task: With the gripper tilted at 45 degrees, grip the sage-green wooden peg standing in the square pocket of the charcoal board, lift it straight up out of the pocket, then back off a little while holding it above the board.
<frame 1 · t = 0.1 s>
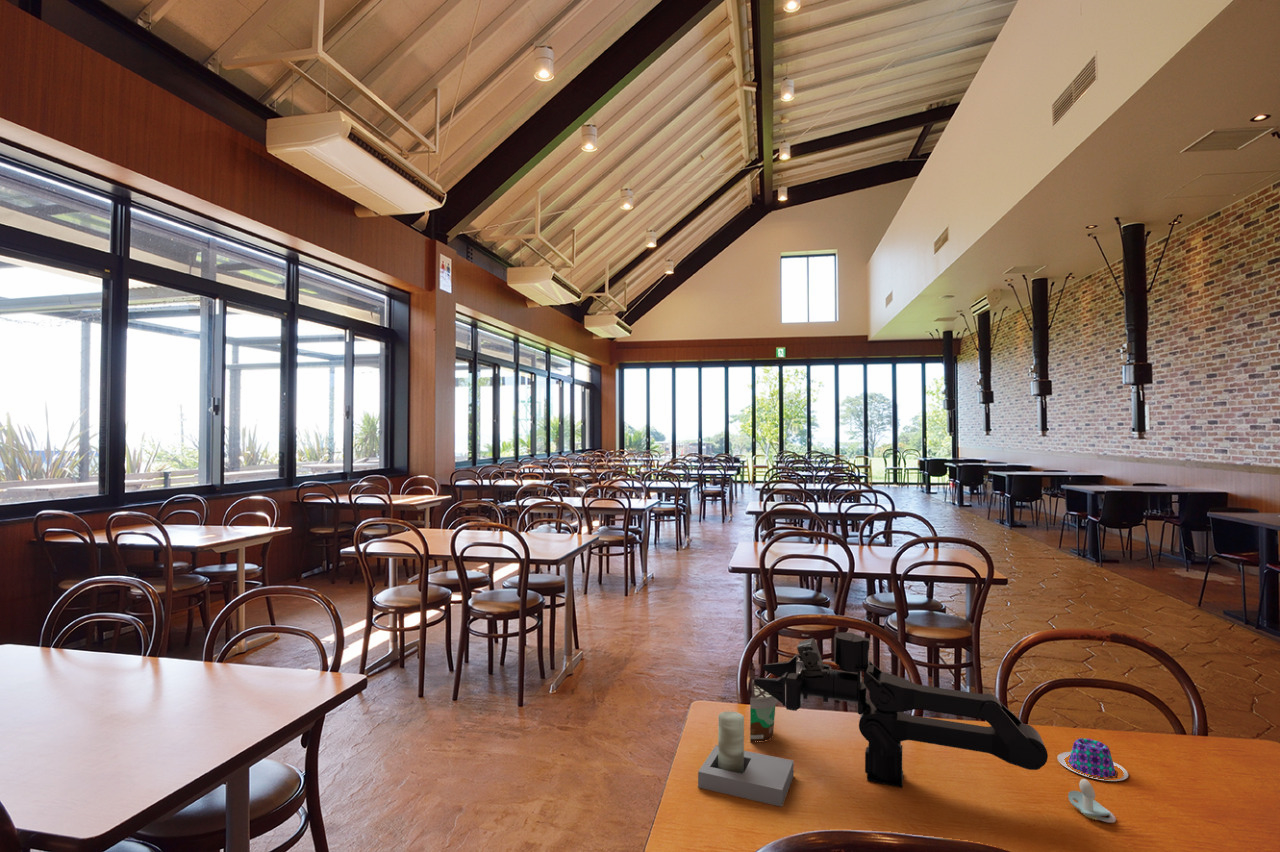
hand: (759, 673, 139), 17 cm above the table, tool horizontal, fingers open, 9 cm apart
pacifier: (1093, 815, 117), on the table
pocket board: (746, 781, 126), on the table
food container: (764, 735, 147), on the table
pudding: (1092, 770, 133), on the table
peg: (730, 778, 128), resting in pocket board
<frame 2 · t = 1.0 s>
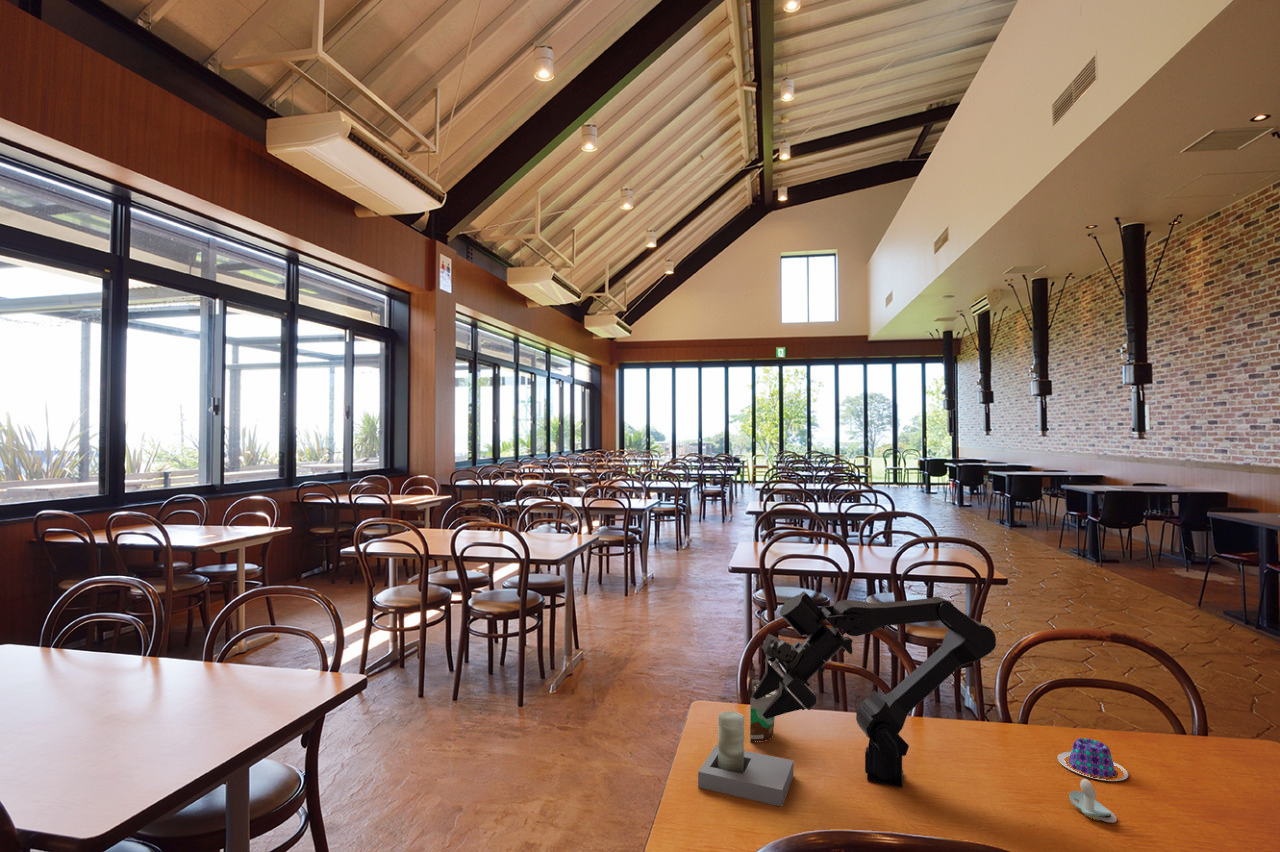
hand: (759, 707, 128), 14 cm above the table, tool tilted 45°, fingers open, 9 cm apart
nothing on the table moved.
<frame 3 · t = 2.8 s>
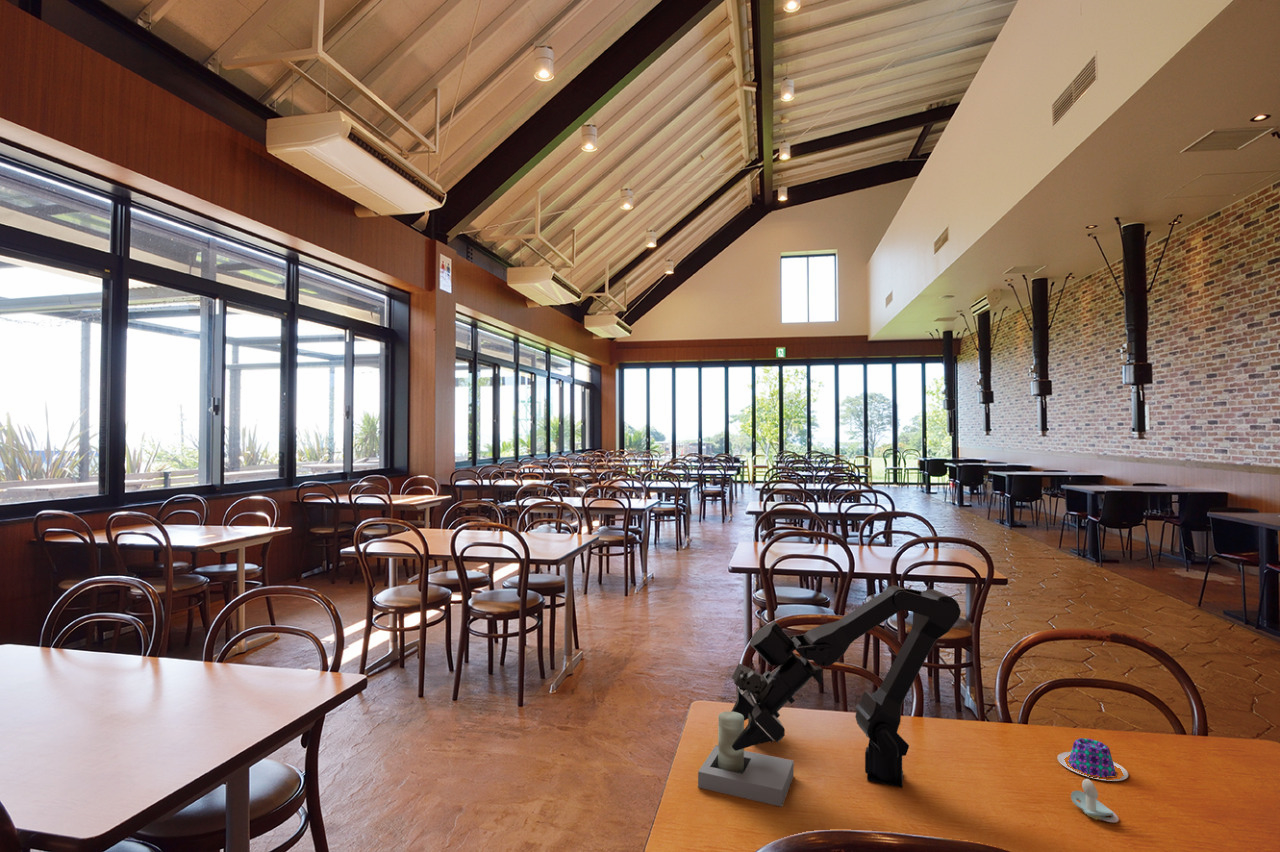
hand: (729, 737, 128), 8 cm above the table, tool tilted 45°, fingers open, 9 cm apart
nothing on the table moved.
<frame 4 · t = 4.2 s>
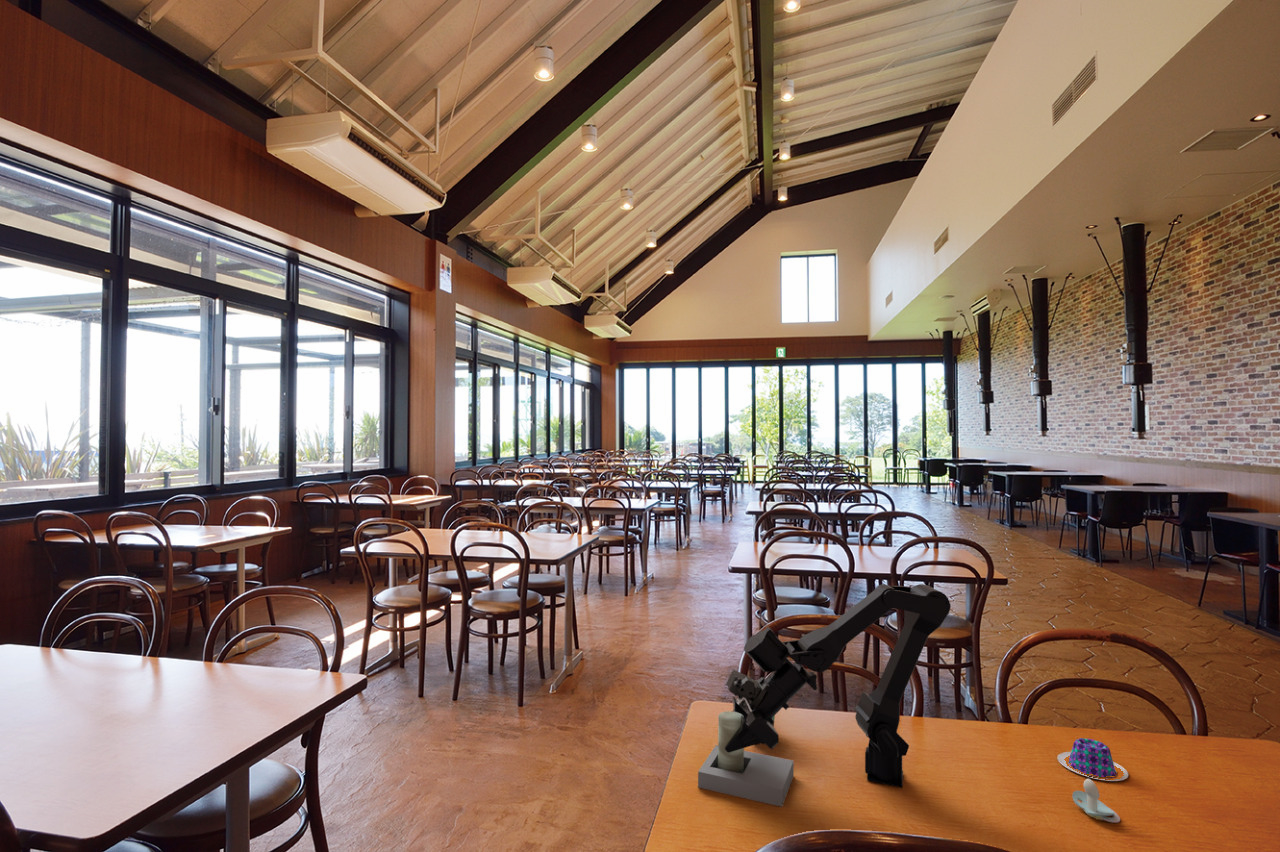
hand: (723, 744, 128), 7 cm above the table, tool tilted 45°, fingers closed on peg, 5 cm apart
peg: (730, 778, 128), resting in pocket board, touching gripper
everything else where it was.
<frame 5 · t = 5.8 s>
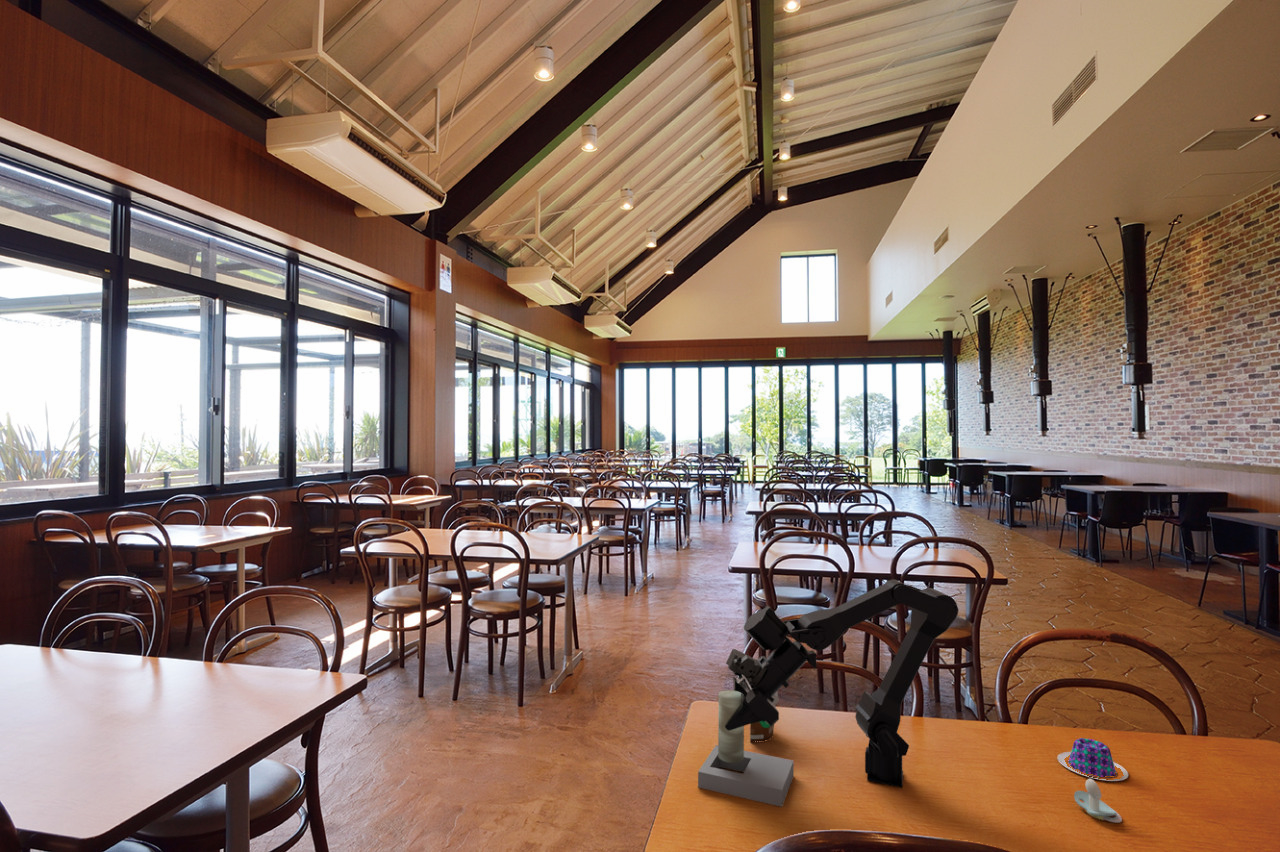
hand: (724, 722, 128), 11 cm above the table, tool tilted 45°, fingers closed on peg, 5 cm apart
peg: (730, 756, 128), point 4 cm above the table, touching gripper
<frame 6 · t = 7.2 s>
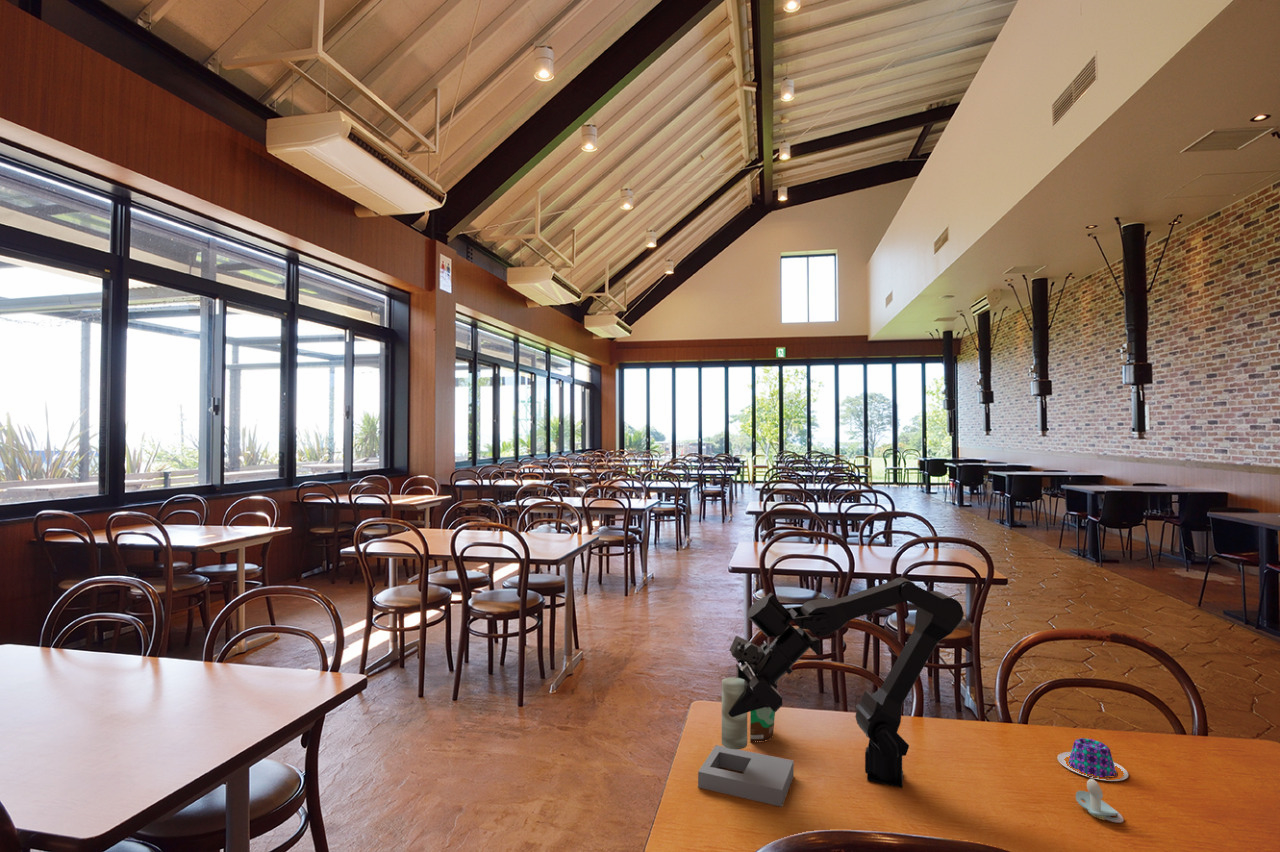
hand: (727, 709, 128), 13 cm above the table, tool tilted 45°, fingers closed on peg, 5 cm apart
peg: (734, 743, 128), point 7 cm above the table, touching gripper
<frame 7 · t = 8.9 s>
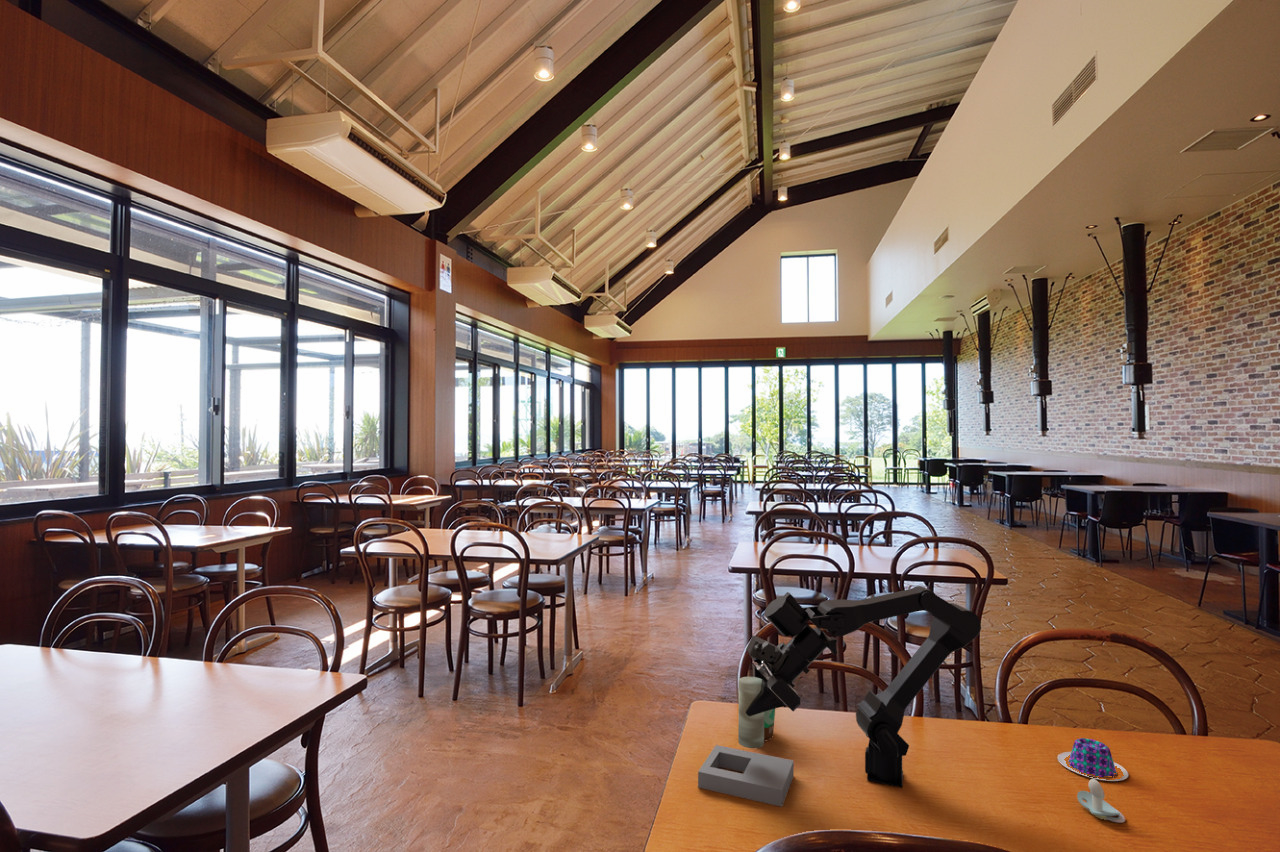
hand: (744, 708, 128), 13 cm above the table, tool tilted 45°, fingers closed on peg, 5 cm apart
peg: (751, 742, 128), point 7 cm above the table, touching gripper
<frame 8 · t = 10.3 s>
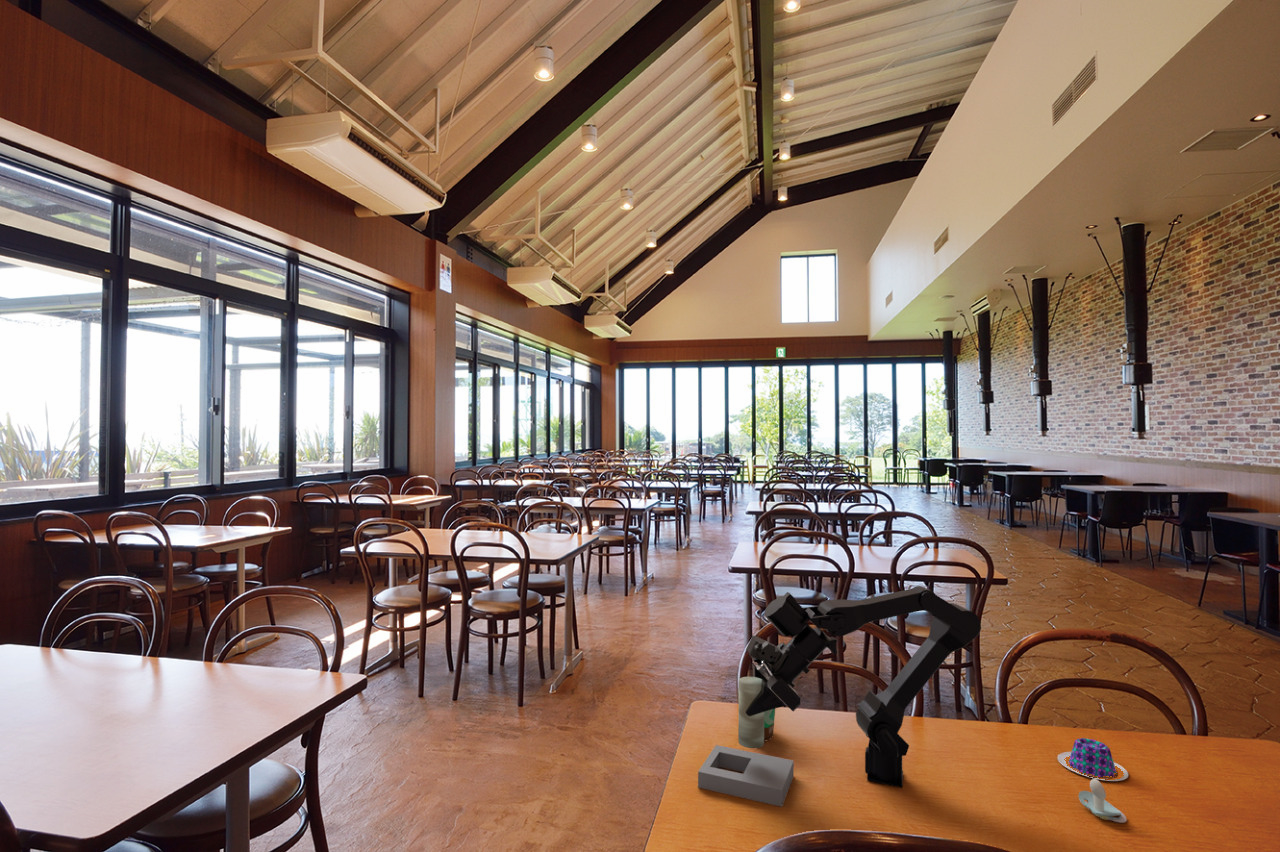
hand: (744, 708, 128), 13 cm above the table, tool tilted 45°, fingers closed on peg, 5 cm apart
peg: (751, 742, 128), point 7 cm above the table, touching gripper
at the end: the gripper is holding peg; peg point 6.9 cm above the table; peg touching gripper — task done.
